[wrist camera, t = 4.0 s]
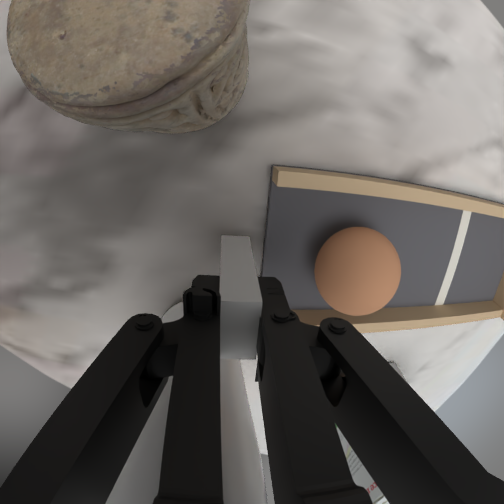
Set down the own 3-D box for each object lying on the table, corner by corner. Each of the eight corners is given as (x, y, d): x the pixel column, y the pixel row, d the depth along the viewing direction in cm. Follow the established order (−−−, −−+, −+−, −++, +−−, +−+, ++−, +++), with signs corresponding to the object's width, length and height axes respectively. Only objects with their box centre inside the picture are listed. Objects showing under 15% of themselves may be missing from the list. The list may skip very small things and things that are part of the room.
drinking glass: (197, 266, 19) (167, 516, 5) (265, 329, 21) (307, 539, 8) (132, 323, 20) (72, 521, 7) (199, 374, 23) (194, 557, 9)
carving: (194, -4, 12) (159, -142, 1) (270, 89, 15) (357, 25, 4) (105, 60, 14) (-38, 7, 3) (177, 154, 16) (85, 213, 5)
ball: (299, 287, 20) (320, 335, 15) (311, 212, 18) (340, 244, 13) (368, 288, 20) (401, 330, 16) (384, 218, 18) (428, 249, 14)
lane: (256, 314, 21) (265, 364, 16) (271, 164, 17) (289, 179, 12) (491, 303, 23) (520, 330, 19) (522, 209, 19) (559, 228, 15)
